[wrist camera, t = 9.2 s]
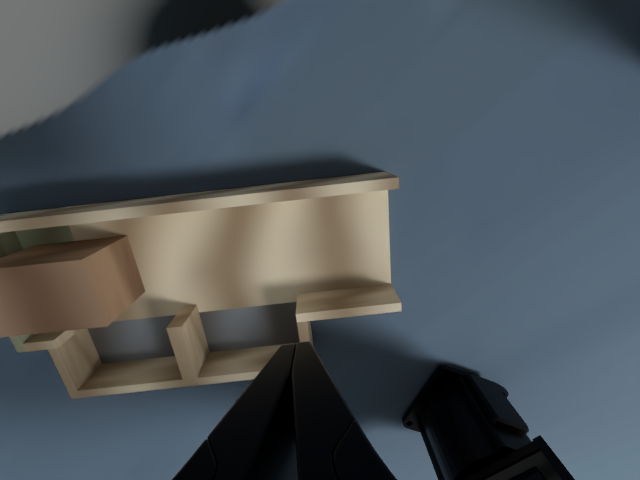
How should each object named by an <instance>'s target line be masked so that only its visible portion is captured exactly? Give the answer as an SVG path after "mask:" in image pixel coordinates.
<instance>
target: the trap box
mask: <svg viewBox="0 0 640 480" xmlns="http://www.w3.org/2000/svg"><path fill="white" fill-rule="evenodd" d="M391 189H399V177H397V176H395V175H392V174H390V173H388V172H386V171H384V172H375V173H366V174H357V175H348V176H339V177H330V178H321V179H312V180H303V181H294V182H285V183H276V184H267V185H258V186H249V187H240V188H231V189H222V190H213V191H204V192H195V193H186V194H177V195H168V196H159V197H150V198H141V199H132V200H123V201H114V202H105V203H96V204H87V205H78V206H69V207H60V208H51V209H42V210H33V211H24V212H15V213H6V214H1V215H0V258H2V257H5V256H7V255H10V254H12V253H15V252H17V251H20V250H23V249H25V248H28V247H30V246H33V245H41V244H51V243H60V242H70V241H80V240H89V239H99V238H108V237H118V236H128V239H129V242H130V245H131V248H132V252H133V255H134V258H135V261H136V264H137V267H138V270H139V273H140V276H141V279H142V282H143V286H144V289H145V292H144V293H143V294H142V295H141V296H140V297H139V298H138V299H137V300H136V301H134V302H133V303H132V304H131V305H130V306H129V307H128V308H127V309H126V310H125V311H124V312H123V313H122V314H120V315H119V316H118V317H117V318H116V319H115V320H114V321H113V322H112V323H111V324H110V325H109V326H108V327H98V328H88V329H78V330H69V331H59V332H49V333H39V334H30V335H20V336H10V337H9V338H10V340H11V341H12V343H13V345H14V347H15V349H16V351H17V353H20V352H29V351H38V350H47V349H48V351H49V353H50V355H51V357H52V359H53V362H54V364H55V366H56V368H57V370H58V372H59V374H60V376H61V378H62V380H63V382H64V384H65V386H66V388H67V390H68V392H69V394H70V397H71V399H76V398H85V397H94V396H104V395H113V394H122V393H131V392H141V391H150V390H159V389H169V388H178V387H187V386H197V385H206V384H215V383H225V382H234V381H243V380H253V379H254V378H255V377H256V376H257V375H258V374H259V372H260V371H261V370H262V369H263V367H264V366H265V365H266V364H267V362H268V361H269V360H270V359H271V357H272V356H273V355H274V354H275V352H276V351H277V350H278V349H279V347H280V346H281V345H283V344H290V343H295V344H297V343H298V342H305V341H310V342H311V344H312V345H313V337H312V330H311V322H310V321H315V320H324V319H333V318H343V317H352V316H361V315H370V314H380V313H389V312H398V311H401V301H400V299H399V298H398V296H397V294H396V292H395V290H394V289H393V287H392V285H391V272H390V241H389V209H388V190H391Z"/></svg>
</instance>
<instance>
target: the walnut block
mask: <svg viewBox="0 0 640 480" xmlns="http://www.w3.org/2000/svg"><path fill="white" fill-rule="evenodd" d="M144 292H145V289H144V286H143V282H142V279H141V276H140V273H139V270H138V267H137V264H136V261H135V258H134V255H133V252H132V248H131V245H130V242H129V239H128V236H118V237H108V238H99V239H89V240H80V241H70V242H60V243H51V244H41V245H33V246H30V247H28V248H25V249H23V250H20V251H17V252H15V253H12V254H10V255H7V256H5V257H2V258H0V337H10V336H20V335H30V334H39V333H49V332H59V331H69V330H78V329H88V328H98V327H108V326H109V325H110V324H111V323H112V322H113V321H114V320H115V319H116V318H117V317H118V316H119V315H120V314H122V313H123V312H124V311H125V310H126V309H127V308H128V307H129V306H130V305H131V304H132V303H133V302H134V301H136V300H137V299H138V298H139V297H140V296H141V295H142V294H143V293H144Z"/></svg>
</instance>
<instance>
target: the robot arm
mask: <svg viewBox="0 0 640 480" xmlns="http://www.w3.org/2000/svg"><path fill="white" fill-rule="evenodd" d="M442 372H444V373H442ZM507 396H508V392H507V390H506V389H505V388H504V387H502V386H500V385H497V384H496V383H495V382H492V381H490V380H487V379H484V378H481V377H479V376H476V375H473V374H470V373H464V372H461V371H458V370H456V369H453V368H450V367H448V366H444V365H442V366H439V367H438V368H437V369H436V370H435V372H434V373H433V375H432V376H431V377H430V379H429V380H428V382H427V383H426V385H425V386H424V388H423V389H422V390H421V392H420V393H419V395H418V396H417V398H416V399H415V401H414V402H413V403H412V405H411V406H410V408H409V409H408V411H407V412H406V414H405V415H404V417H403V418H402V422H403V425H404V427H406V428H409V429H412V430H415V431H418V432H421V435H422V437H423V440H424V443H425V445H426V448H427V451H428V453H429V456H430V459H431V461H432V464H433V467H434V469H435V472H436V475H437V477H438V480H575V479H574V478H573V477H572V475H571V474H570V473H569V472H568V470H567V469H566V468H565V466H564V465H563V464H562V463H561V461H560V460H559V459H558V457H557V456H556V455H555V454H554V452H553V451H552V450H551V448H550V447H549V446H548V445H547V443H546V442H545V441H544V439H543V438H542V437H541V436H538V437H536V438H534V439H533V441H532V442H531V440H530V439H529V437H528V436H527V435H526V434H527V433H528V432H529V429H528V426H527V425H526V423H525V422H524V421H523V419H522V418H521V417H520V415H519V414H518V413H517V411H516V410H515V409H514V407H513V406H512V405H511V403H510V402H509V401H508V399H507ZM172 480H397V479H396V478H395V477H394V475H393V474H392V473H391V472H390V470H389V469H388V467H387V466H386V465H385V463H384V462H383V461H382V459H381V458H380V457H379V455H378V454H377V452H376V451H375V450H374V448H373V446H372V445H371V443H370V442H369V440H368V439H367V437H366V435H365V434H364V432H363V430H362V429H361V427H360V425H359V424H358V422H357V421H356V419H355V417H354V415H353V414H352V412H351V410H350V409H349V407H348V405H347V403H346V402H345V400H344V398H343V397H342V395H341V393H340V391H339V390H338V388H337V386H336V385H335V383H334V381H333V379H332V378H331V376H330V374H329V373H328V371H327V369H326V367H325V366H324V364H323V362H322V361H321V359H320V357H319V356H318V354H317V352H316V350H315V349H314V347H313V345H312V344H311V342H310V341H305V342H298V343H297V344H295V343H290V344H283V345H281V346H280V347H279V349H278V350H277V351H276V352H275V354H274V355H273V356H272V357H271V359H270V360H269V361H268V362H267V364H266V365H265V366H264V367H263V369H262V370H261V371H260V372H259V374H258V375H257V376H256V377H255V378H254V380H253V381H252V382H251V383H250V385H249V386H248V387H247V388H246V390H245V391H244V392H243V393H242V395H241V396H240V397H239V398H238V400H237V401H236V402H235V403H234V405H233V406H232V407H231V408H230V410H229V411H228V412H227V413H226V415H225V416H224V417H223V418H222V420H221V421H220V422H219V423H218V425H217V426H216V427H215V428H214V430H213V431H212V432H211V433H210V435H209V436H208V440H207V439H206V440H205V441H204V442H203V443H202V444H201V446H200V447H199V448H198V449H197V451H196V452H195V453H194V454H193V456H192V457H191V458H190V459H189V460H188V462H187V463H186V464H185V465H184V466H183V467H182V469H181V470H180V471H179V472H178V473H177V475H176V476H175V477H174V478H173V479H172Z"/></svg>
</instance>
